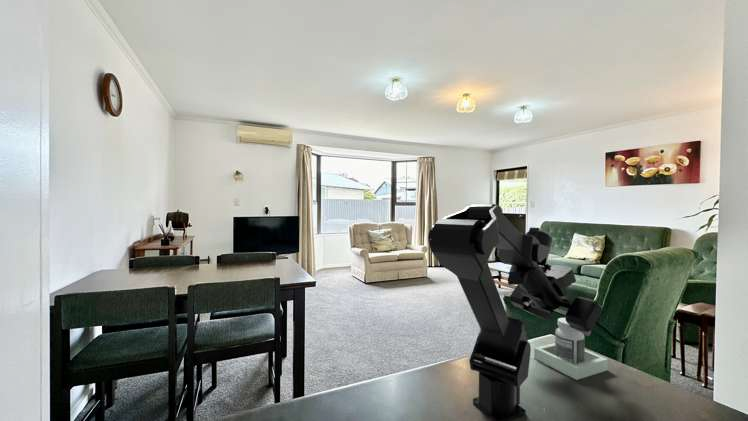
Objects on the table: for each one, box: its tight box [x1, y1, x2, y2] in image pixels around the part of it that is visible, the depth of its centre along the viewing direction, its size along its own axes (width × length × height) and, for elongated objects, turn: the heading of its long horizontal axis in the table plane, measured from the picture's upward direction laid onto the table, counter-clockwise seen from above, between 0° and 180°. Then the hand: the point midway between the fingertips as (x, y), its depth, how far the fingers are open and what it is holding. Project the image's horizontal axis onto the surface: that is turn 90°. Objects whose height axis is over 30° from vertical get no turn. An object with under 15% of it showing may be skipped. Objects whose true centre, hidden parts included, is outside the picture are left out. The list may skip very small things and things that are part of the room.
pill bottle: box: [554, 317, 586, 365], centre depth 72 cm, size 6×6×10 cm
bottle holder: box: [533, 342, 609, 381], centre depth 72 cm, size 10×10×2 cm
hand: (568, 326), depth 71 cm, fingers open, 9 cm apart
